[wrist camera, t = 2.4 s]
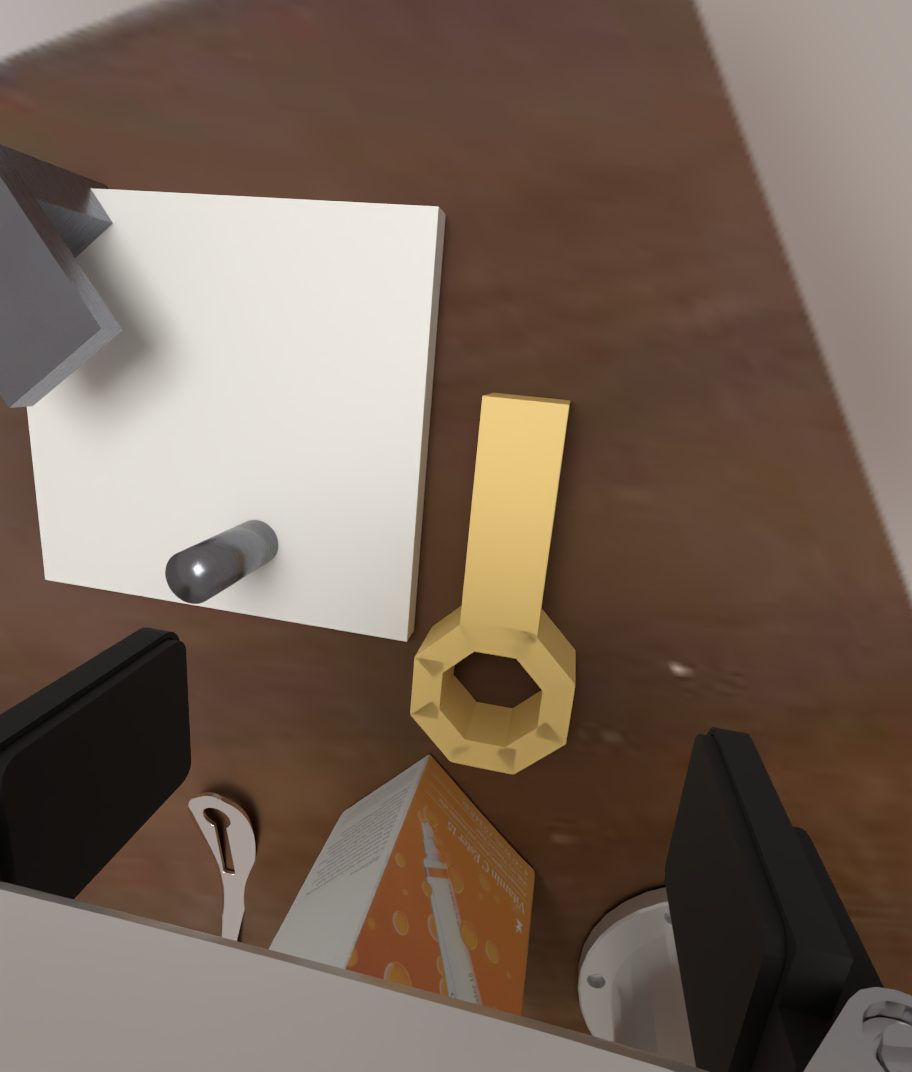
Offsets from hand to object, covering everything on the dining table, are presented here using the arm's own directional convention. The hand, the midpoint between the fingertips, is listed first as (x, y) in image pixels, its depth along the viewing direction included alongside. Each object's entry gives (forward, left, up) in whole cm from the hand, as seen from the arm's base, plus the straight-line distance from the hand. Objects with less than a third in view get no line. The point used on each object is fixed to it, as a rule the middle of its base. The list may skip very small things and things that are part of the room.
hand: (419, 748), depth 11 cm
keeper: (+18, -8, -15) cm, 25 cm away
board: (+13, -3, -15) cm, 20 cm away
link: (0, +2, -15) cm, 15 cm away
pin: (+11, +2, -15) cm, 19 cm away
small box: (+2, +16, -16) cm, 23 cm away
